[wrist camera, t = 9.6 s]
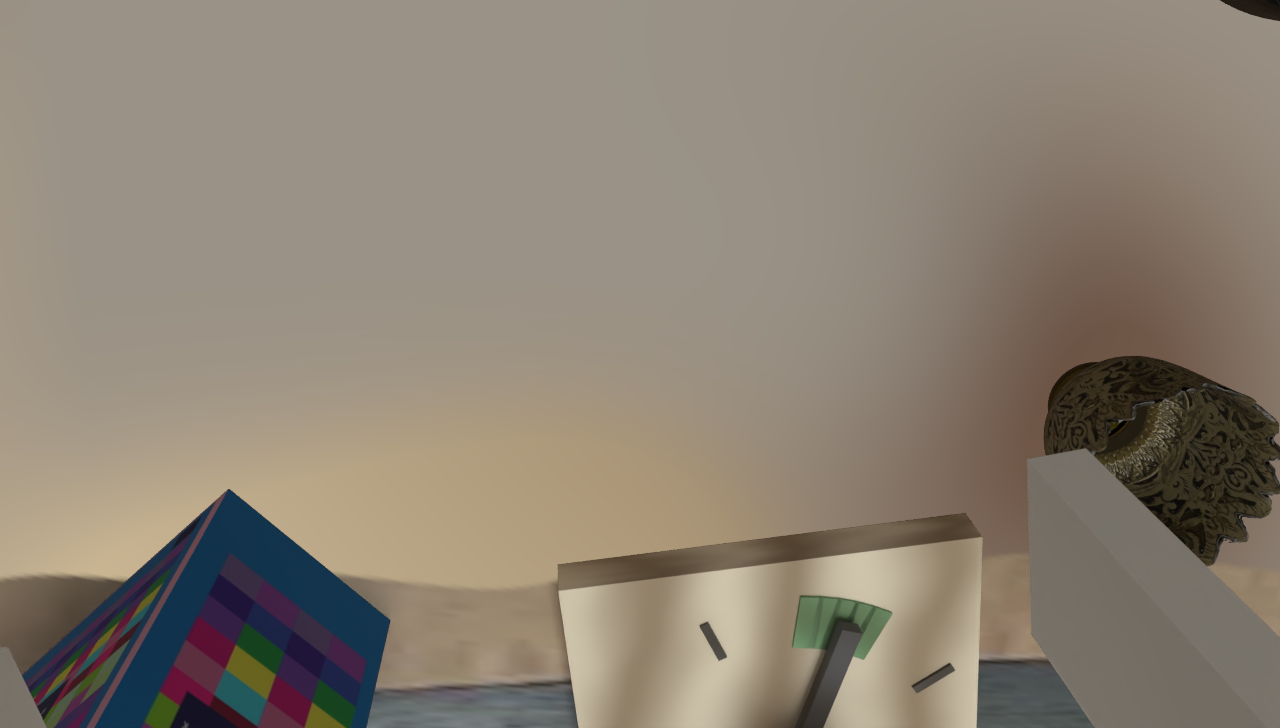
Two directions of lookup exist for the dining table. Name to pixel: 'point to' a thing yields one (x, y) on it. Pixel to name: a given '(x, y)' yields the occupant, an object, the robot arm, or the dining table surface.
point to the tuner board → (780, 629)
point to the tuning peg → (830, 675)
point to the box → (218, 639)
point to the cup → (1171, 444)
